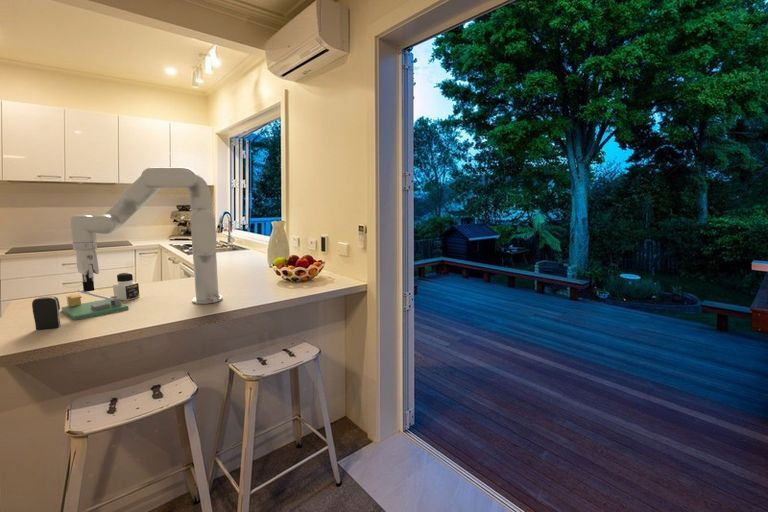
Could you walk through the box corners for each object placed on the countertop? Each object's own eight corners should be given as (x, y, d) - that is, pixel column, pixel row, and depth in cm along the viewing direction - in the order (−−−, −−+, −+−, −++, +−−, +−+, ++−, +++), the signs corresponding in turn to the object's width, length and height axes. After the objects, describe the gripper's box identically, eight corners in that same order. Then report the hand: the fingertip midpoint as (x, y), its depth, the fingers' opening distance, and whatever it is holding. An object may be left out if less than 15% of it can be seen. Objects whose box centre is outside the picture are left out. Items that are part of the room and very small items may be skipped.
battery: (63, 324, 138) (59, 294, 137) (59, 328, 135) (55, 297, 133) (39, 326, 136) (35, 296, 134) (34, 330, 132) (30, 299, 131)
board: (128, 309, 158) (127, 298, 157) (74, 320, 144) (73, 308, 143) (112, 301, 169) (111, 291, 168) (61, 310, 155) (60, 299, 154)
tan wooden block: (84, 306, 155) (82, 296, 155) (71, 308, 152) (70, 298, 152) (79, 303, 159) (78, 293, 159) (67, 305, 156) (66, 295, 155)
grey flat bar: (117, 302, 158) (119, 299, 158) (79, 293, 147) (81, 289, 148) (115, 301, 160) (116, 298, 160) (77, 291, 149) (78, 288, 149)
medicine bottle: (127, 301, 170) (124, 275, 168) (113, 300, 172) (111, 274, 170) (140, 297, 177) (137, 272, 175) (127, 296, 179) (124, 271, 177)
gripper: (102, 247, 147) (106, 292, 150) (90, 243, 156) (94, 286, 159) (78, 248, 141) (83, 295, 144) (67, 244, 150) (72, 289, 153)
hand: (88, 290), depth 151 cm, fingers closed
